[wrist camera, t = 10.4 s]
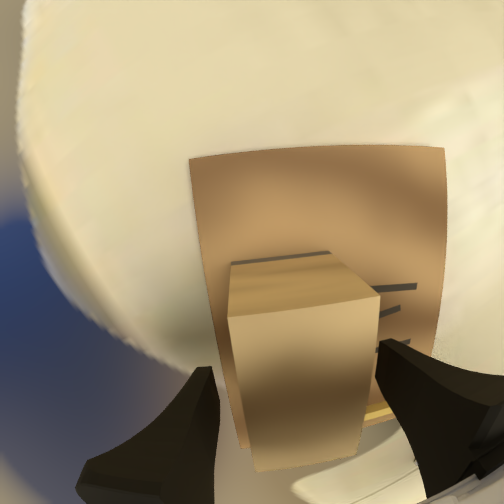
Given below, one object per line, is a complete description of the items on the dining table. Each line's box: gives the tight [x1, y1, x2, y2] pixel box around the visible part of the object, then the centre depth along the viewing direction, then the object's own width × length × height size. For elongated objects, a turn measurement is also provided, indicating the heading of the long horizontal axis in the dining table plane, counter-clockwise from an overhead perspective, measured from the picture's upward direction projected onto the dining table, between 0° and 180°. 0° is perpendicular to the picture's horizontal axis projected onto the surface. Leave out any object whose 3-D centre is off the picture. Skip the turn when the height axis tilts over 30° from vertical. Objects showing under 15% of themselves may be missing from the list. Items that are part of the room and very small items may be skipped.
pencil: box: [364, 401, 393, 421], centre depth 16 cm, size 11×1×1 cm, turn 96°
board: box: [189, 145, 447, 449], centre depth 15 cm, size 18×13×1 cm
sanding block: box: [227, 251, 380, 472], centre depth 12 cm, size 8×4×6 cm, turn 6°
